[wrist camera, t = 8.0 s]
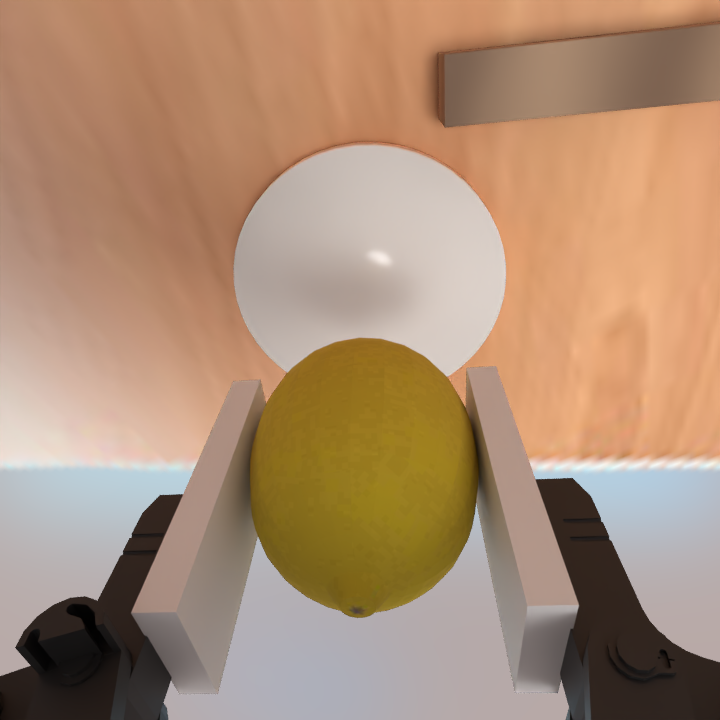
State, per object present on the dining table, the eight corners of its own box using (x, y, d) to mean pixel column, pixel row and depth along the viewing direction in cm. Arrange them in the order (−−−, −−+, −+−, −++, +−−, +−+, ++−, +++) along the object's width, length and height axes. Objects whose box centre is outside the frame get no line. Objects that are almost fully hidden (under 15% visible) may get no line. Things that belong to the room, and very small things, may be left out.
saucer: (267, 392, 25) (263, 405, 24) (209, 156, 19) (201, 162, 18) (494, 379, 24) (498, 392, 23) (509, 127, 18) (516, 131, 17)
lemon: (246, 360, 16) (145, 596, 9) (378, 252, 14) (374, 453, 7) (360, 459, 18) (347, 709, 11) (491, 378, 16) (571, 626, 9)
